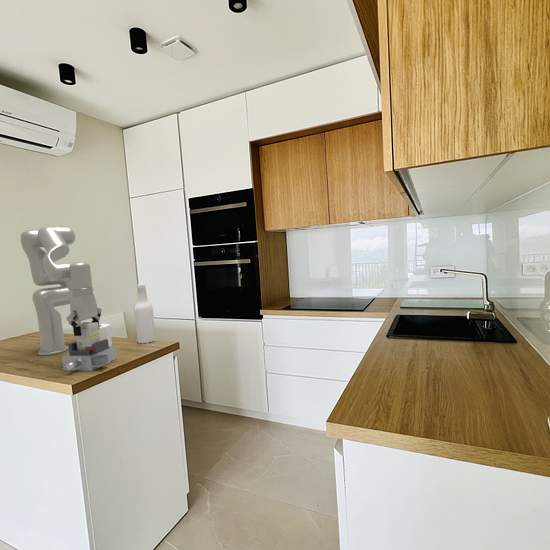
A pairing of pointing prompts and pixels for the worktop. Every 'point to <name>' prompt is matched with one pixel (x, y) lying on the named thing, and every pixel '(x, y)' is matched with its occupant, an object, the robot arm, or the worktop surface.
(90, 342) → the ink box
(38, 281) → the robot arm
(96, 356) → the grey boxy piece
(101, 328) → the toilet paper
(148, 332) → the alcohol
